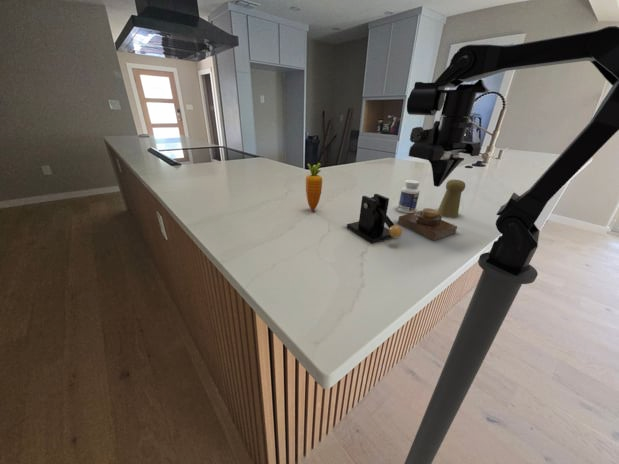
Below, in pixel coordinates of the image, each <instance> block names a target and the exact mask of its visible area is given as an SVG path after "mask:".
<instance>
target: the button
mask: <svg viewBox="0 0 619 464" xmlns="http://www.w3.org/2000/svg"><path fill="white" fill-rule="evenodd" d="M421 211H422V216H424V217H427V218H436V214H438V213H437V211H438V210H436V209H433V208H430V207H429V208H428V207H424V208H422V210H421Z"/></svg>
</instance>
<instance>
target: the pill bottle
mask: <svg viewBox="0 0 619 464" xmlns="http://www.w3.org/2000/svg"><path fill="white" fill-rule="evenodd" d="M418 187H420V181H418V180H415V179H406V180H405V182H404V186H403V187H401V191H400V195H399V201H398V206H397V210H398V211H399V212H401V213H405V214H411V213H415V212H416V208H417V204H418V201H419V197H420V192H421V191H420V189H419V188H418Z"/></svg>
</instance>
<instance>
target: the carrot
mask: <svg viewBox="0 0 619 464" xmlns="http://www.w3.org/2000/svg"><path fill="white" fill-rule="evenodd" d="M321 166H322V164H321V163H320V162H317V164H313V165H311V164H310V163H307V167H308V169H309V171H310V174H308V175H307V176H306V177H305V195H306V201H307V203H308V206H309V208H310V210H311V211H312V212H314V211H315V210H316V208H317V207H318V204H319V202H320V199H321V195H322V189H323V177H322V176H321V175H319V173H320V172H321V171H322V170H321V169H320V167H321Z"/></svg>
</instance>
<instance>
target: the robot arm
mask: <svg viewBox="0 0 619 464" xmlns="http://www.w3.org/2000/svg"><path fill="white" fill-rule="evenodd" d="M579 62H590V63H591V64H592V65H593V66H594V67H595V68H596V70H597V71H598V72H599V73H600V74H601V75H602V77H603V78H604V79H605V80H606V81H607V82H608V83H609V84H610V85H611V88H610V89H609V90H608V92H607V94H606V95H605V97H604V98H603V100H602V101H601V103H600V105H599V106H598V108H597V109H596V111H595V113H594V114H593V116H592V117H591V119H590V121H589V123H587V125H586V126H585V127H584V128H583V129H582V130H581V131H580V132H579V134H578V135H576V136H575V138H574V139H573V140H572V141H571V142H570V143H569V145H568V146H567V147H566V148H565V149H564V150H563V151H562V152H561V153H560V154H559V156H558V157H556V159H555V160H554V161H553V162H552V164H551V165H550V166H549V167H548V168H547V169H546V170H545V171H544V172H543V173H542V174H541V175H540V177H539V178H537V180H536V181H535V182H534V183H533V185H532V186H530V188H529V189H527V190H526V191H525V192H524V193H522V194H520V195H518V194H517V193H516V192H513V193H512V194H511V196H510V198H509V199H508V201H507V202H506V203H504V204H503V205H501V206H500V208H499V209H498V210H497V213H496V216H498V217H497V219H496V220H495V227H496V229H497V231H498V232H499V233H500V234H501V235H499V236H498V237H497V240H494V241H493V244H492V246H491V249H490V251H489V252H490V253H489V257H490V258H488V259H486V262H488V263H490V264H492V265H494V266H496V267H498V268H501V269H503V270H505V271H507V272H509V273H511V274H513V275H516V276H517V275H519V274H521V273H523V272H525V271H526V270H528V269H530V266H529V264H531V261H532V259H533V257H534V255H535V253H536V252H537V249H538V247H539V238H540V230H539V228H538V226H537V225H536V221H537V220H538V219H539V217H540V215H541V213H542V212H543V211H544V209H545V207H546V205H547V204H548V203H549V201H551V199H552V198H553V197H554V196H555V195H556V194H557V193H558V192H559V191H560V190H561V189H562V188H563V187H564V186H565V185H566V184H567V183H568V182H569V181H570V180H571V179H572V178H573V177H574V176H575V175H576V174H577V173H578V172H579V171H580V170H581V169H582V168H583V167H584V166H585V165H586V164H587V163H588V162H589V161H590V159H592V158H593V156H595V155H596V153H597V152H599V150H600V149H602V147H604V146H605V144H607V143H608V141H609V140H610V139H612V138H613V136H614V135H616V134H617V132H619V26H617V25H609V26H605V27H602V28H600V29H597V30H592V31H585V32H580V33H573V34H567V35H562V36H557V37H550V38H544V39H540V40H533V41H528V42H522V43H516V44H510V45H499V44H488V43H487V44H486V43H485V44H466V45H463V46H461V47H460V48H459V49H458V50H457V51H456V52H455V53H454V54H453V56H452V58H451V60H450V62H449V65H448V66H447V67H446V68H445V70H444V71H442V73H441V74H440V75H439V77H437V79H436V80H435V81H434V82H423V81H415V82H414V85H413V88H412V89H411V91H410V93H409V96H408V98H407V99H406V112H407V114H408V115H411V116H429V117H430V116H431V117H433V116H435V115H436V114H437V112H440V111H441V113H440V117H439V120H435V121H434V122H433V124H432V127H431V128H429V129H424V128H423V127H422V126H416V127H413V128H412V129H411V132H410V135H409V137H410V138H409V142H411V143H413V144H412V145H411V146H410V147H409V151H408V157H412V158H417V159H421V160H426V161H428V162H429V164H430V166H431V171H432V181H433V187H441V185H442V184H443V183H444V182H445V181H446V179H447V178H448V177H449V176H451V175H450V174H452V172H453V171H454V170H455V169H456V168H457V167H458V166H459V165H460V164H461V163H462V162H463V161H464V160H465V158H464V157H460V154H464V155H465V154H466V155H469V156H470V157H478V156H480V154H481V150H482V146H481V145H480V142H474V141H473V142H472V141H464V139H465V135H466V133H467V132H466V131H467V129H471V128H472V126H473V122H469V121H470V117H471V115H472V111H473V107H474V104H475V100H476V97H477V94H488V93H489V91H490V90H489V88H488V87H487V86H486V85H485V82H484V80H483V79H486V78H488V77H492V76H494V75H497V74H501V73H503V72H504V73H505V72H508V71H514V70H515V71H516V70H525V69H532V68H539V67H548V66H555V65H563V64H571V63H579ZM475 81H476V82H475ZM471 82H475V83H471ZM465 83H466V84H465ZM454 88H456V89H454Z"/></svg>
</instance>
